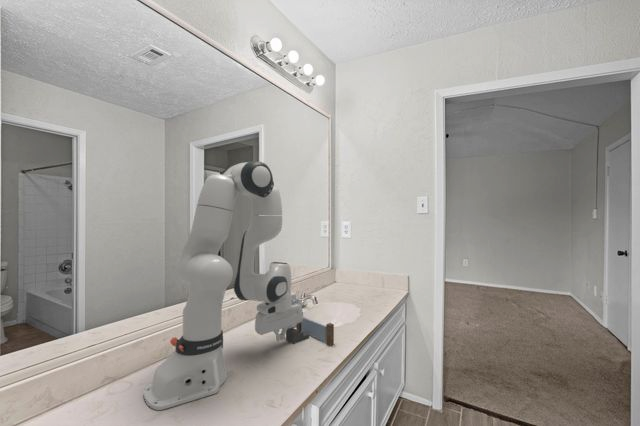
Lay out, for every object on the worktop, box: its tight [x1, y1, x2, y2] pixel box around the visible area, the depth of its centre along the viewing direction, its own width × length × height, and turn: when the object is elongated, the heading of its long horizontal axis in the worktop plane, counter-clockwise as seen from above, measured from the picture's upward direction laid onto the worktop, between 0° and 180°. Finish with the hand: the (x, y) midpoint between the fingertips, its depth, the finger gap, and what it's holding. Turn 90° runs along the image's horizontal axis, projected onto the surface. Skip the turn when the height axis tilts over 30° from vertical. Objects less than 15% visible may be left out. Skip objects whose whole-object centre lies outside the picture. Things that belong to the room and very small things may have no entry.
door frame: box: [296, 322, 335, 347], centre depth 122 cm, size 2×21×8 cm, turn 43°
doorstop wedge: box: [285, 327, 310, 345], centre depth 120 cm, size 8×5×5 cm, turn 132°
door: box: [301, 316, 326, 343], centre depth 123 cm, size 2×15×6 cm, turn 43°
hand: (280, 339), depth 114 cm, fingers closed
